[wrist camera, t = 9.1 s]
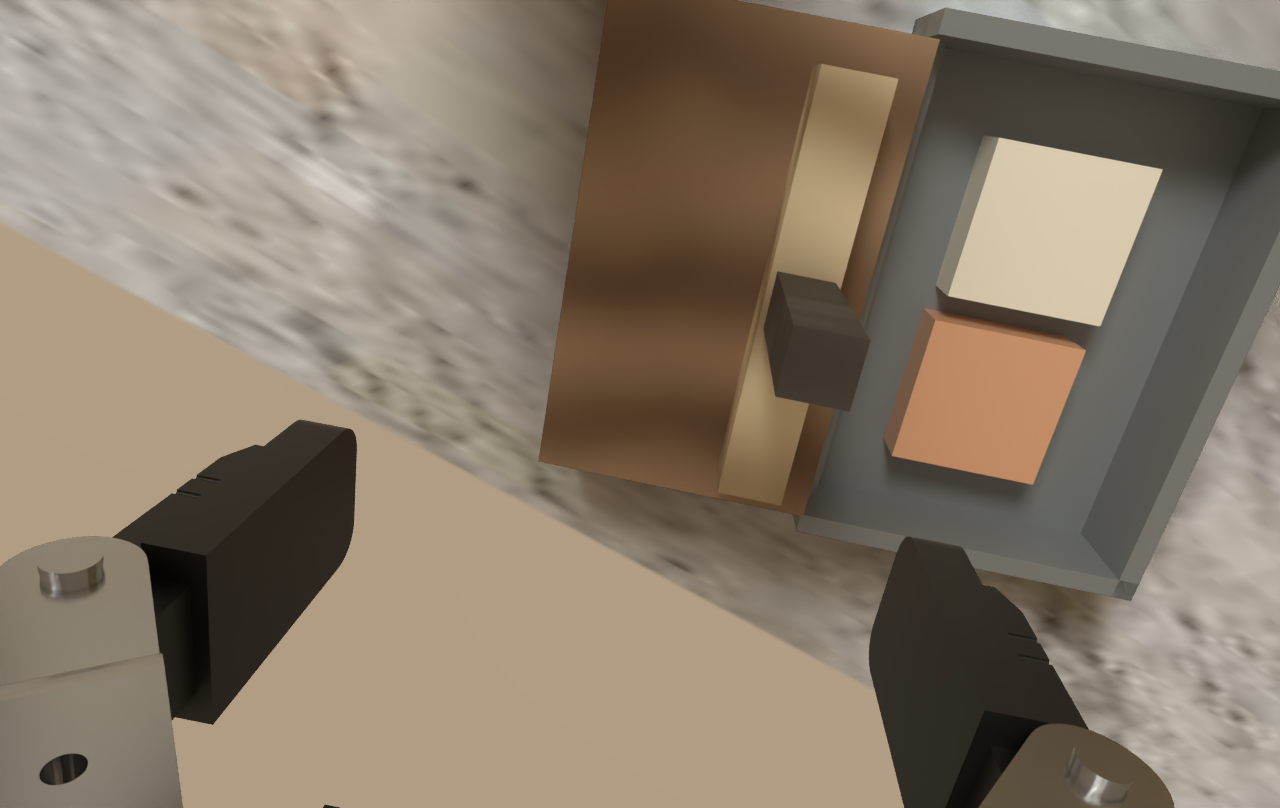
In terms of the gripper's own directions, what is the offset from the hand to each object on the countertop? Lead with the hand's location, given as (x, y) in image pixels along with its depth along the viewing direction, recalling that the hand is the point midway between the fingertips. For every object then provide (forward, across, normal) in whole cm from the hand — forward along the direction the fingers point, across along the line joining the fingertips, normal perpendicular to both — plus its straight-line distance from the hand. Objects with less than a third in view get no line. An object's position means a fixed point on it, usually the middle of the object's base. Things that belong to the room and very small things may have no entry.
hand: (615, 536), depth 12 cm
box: (+25, -14, 0) cm, 28 cm away
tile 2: (+22, -14, -3) cm, 26 cm away
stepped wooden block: (+25, -1, 0) cm, 25 cm away
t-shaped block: (+20, -4, 0) cm, 20 cm away
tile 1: (+22, -13, +4) cm, 26 cm away
